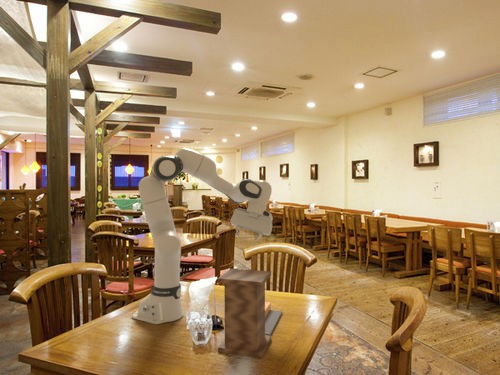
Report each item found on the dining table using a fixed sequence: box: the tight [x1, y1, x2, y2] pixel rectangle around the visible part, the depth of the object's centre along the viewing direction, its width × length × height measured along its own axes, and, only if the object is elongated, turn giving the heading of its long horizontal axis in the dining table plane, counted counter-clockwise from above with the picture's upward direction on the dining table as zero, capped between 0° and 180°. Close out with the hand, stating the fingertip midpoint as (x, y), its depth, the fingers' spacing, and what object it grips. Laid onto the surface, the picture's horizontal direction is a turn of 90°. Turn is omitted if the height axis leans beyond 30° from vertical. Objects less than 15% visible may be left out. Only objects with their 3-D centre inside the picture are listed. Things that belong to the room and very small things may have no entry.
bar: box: [265, 301, 272, 317], centre depth 143 cm, size 3×22×3 cm, turn 163°
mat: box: [265, 309, 283, 337], centre depth 141 cm, size 14×24×1 cm, turn 163°
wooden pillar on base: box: [217, 268, 272, 359], centre depth 121 cm, size 16×14×26 cm
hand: (246, 238), depth 154 cm, fingers open, 8 cm apart
